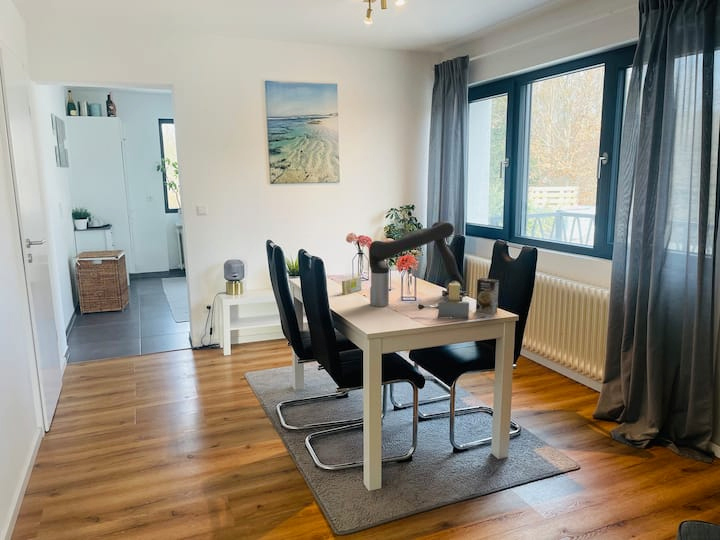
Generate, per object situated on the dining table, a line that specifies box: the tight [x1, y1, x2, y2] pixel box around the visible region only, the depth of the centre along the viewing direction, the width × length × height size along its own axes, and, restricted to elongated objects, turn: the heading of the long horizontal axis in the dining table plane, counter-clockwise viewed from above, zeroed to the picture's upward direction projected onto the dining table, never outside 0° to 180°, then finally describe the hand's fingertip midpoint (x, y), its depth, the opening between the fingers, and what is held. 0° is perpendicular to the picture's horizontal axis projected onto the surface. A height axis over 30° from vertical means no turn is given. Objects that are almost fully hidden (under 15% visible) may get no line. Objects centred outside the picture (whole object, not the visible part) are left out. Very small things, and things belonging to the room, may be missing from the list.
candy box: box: [341, 276, 362, 296], centre depth 310 cm, size 16×2×8 cm, turn 144°
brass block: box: [449, 283, 460, 301], centre depth 258 cm, size 5×5×15 cm
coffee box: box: [475, 277, 500, 315], centre depth 264 cm, size 9×6×16 cm
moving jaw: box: [445, 295, 463, 302], centre depth 266 cm, size 8×4×8 cm, turn 80°
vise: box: [417, 300, 470, 320], centre depth 261 cm, size 24×15×8 cm, turn 80°
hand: (454, 297), depth 268 cm, fingers closed
